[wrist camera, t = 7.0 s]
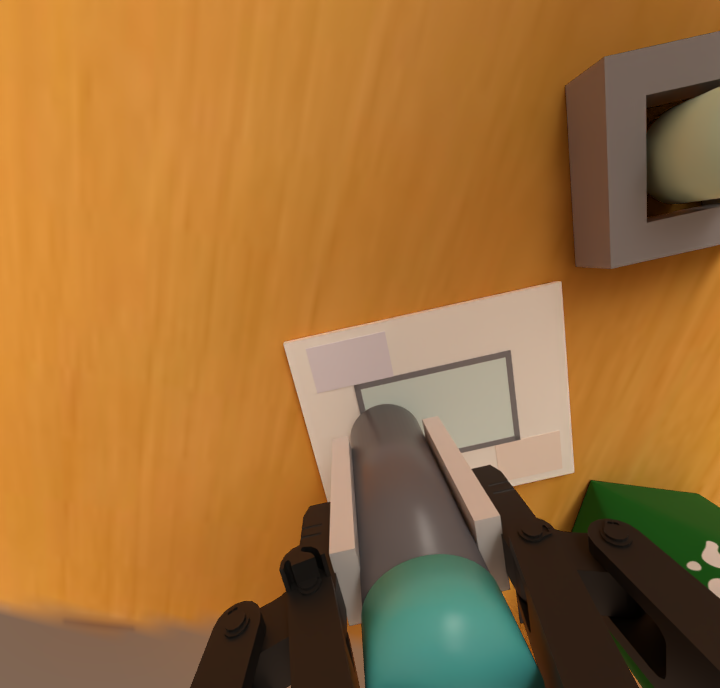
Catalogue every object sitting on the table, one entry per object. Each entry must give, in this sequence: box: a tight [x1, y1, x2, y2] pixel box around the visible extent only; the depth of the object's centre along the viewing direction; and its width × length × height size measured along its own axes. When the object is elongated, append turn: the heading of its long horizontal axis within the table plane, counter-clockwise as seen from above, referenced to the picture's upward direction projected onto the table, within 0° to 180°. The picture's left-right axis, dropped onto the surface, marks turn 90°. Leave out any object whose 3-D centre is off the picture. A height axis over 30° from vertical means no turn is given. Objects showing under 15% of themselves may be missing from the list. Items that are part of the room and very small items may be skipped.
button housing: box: [565, 31, 720, 269], centre depth 16 cm, size 8×8×2 cm
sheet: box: [283, 281, 574, 502], centre depth 19 cm, size 11×14×1 cm
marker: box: [350, 404, 545, 688], centre depth 13 cm, size 4×4×12 cm
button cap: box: [646, 87, 720, 204], centre depth 14 cm, size 4×4×3 cm
